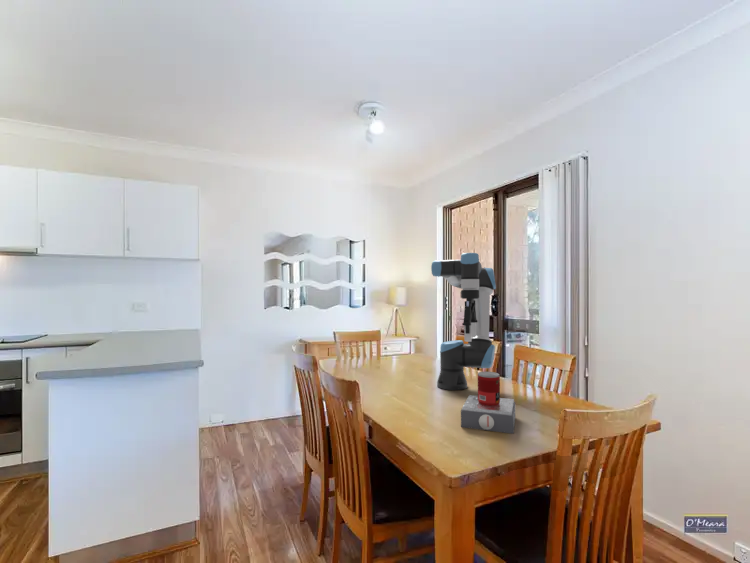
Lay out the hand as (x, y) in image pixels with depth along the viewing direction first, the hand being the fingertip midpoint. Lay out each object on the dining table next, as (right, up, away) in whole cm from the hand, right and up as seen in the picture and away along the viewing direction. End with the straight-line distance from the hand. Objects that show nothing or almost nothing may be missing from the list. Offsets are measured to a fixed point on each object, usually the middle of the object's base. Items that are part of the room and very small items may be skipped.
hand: (470, 339), depth 166 cm
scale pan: (+2, -22, -19) cm, 29 cm away
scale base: (+2, -28, -19) cm, 34 cm away
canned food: (+2, -21, -18) cm, 28 cm away
